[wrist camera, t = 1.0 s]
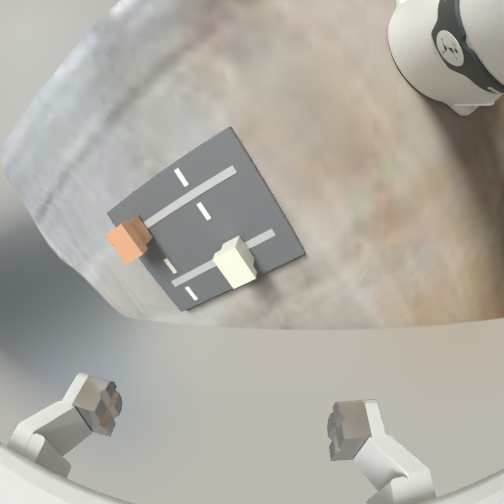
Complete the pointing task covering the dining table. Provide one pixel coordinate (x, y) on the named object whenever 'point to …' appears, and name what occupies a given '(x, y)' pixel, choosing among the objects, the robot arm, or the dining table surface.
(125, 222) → the terracotta fader
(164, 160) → the dining table surface
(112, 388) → the robot arm
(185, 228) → the console
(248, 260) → the cream fader
